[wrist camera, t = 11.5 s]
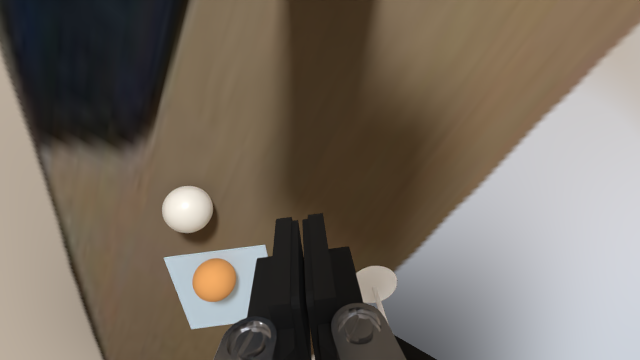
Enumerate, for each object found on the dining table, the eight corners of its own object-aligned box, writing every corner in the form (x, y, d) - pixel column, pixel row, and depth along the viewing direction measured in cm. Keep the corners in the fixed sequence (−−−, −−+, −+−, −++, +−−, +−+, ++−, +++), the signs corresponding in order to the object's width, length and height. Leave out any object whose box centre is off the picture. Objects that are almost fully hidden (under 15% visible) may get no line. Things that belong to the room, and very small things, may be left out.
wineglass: (408, 290, 50) (473, 438, 31) (357, 311, 51) (393, 466, 33) (390, 255, 46) (451, 398, 28) (336, 278, 47) (363, 429, 29)
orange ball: (182, 295, 38) (198, 310, 42) (228, 289, 38) (239, 305, 43) (189, 253, 42) (203, 271, 46) (231, 248, 42) (241, 266, 46)
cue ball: (154, 239, 35) (177, 227, 41) (204, 237, 35) (220, 226, 40) (150, 189, 35) (174, 184, 40) (201, 187, 34) (218, 183, 40)
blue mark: (164, 257, 43) (163, 258, 43) (265, 244, 44) (265, 245, 44) (191, 327, 49) (191, 329, 49) (280, 316, 50) (280, 317, 50)
